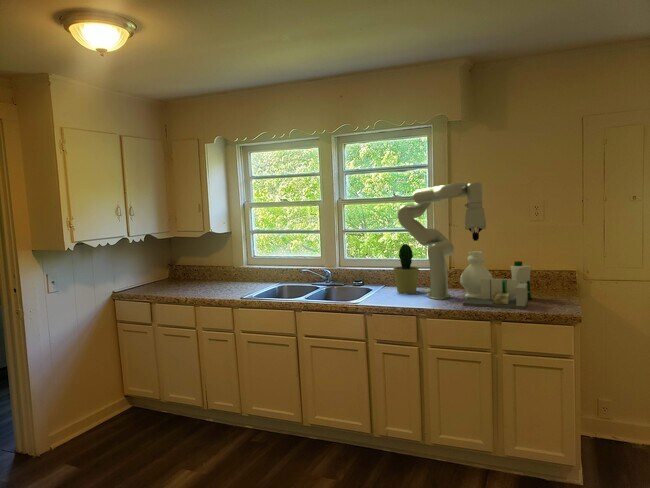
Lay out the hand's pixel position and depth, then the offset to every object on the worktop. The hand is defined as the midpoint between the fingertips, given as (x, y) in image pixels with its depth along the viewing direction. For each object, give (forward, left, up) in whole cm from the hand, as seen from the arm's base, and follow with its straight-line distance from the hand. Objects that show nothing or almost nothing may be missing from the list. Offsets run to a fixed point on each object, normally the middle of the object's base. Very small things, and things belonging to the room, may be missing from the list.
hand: (475, 240), depth 261 cm
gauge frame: (+10, -5, -33) cm, 35 cm away
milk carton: (+21, +12, -33) cm, 41 cm away
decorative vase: (-3, +15, -33) cm, 37 cm away
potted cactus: (-45, +17, -33) cm, 59 cm away
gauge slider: (+13, -5, -31) cm, 34 cm away
